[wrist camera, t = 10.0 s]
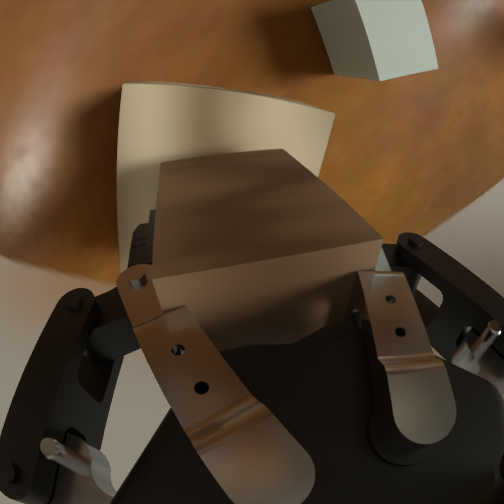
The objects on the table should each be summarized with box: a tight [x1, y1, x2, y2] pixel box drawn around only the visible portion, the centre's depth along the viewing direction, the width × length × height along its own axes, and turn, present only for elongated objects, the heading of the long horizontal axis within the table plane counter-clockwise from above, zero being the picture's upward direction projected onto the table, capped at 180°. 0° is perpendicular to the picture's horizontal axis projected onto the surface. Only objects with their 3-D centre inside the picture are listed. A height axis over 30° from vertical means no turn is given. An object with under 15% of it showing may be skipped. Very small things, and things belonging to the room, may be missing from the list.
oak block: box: [117, 81, 335, 273], centre depth 16 cm, size 10×10×5 cm
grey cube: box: [311, 0, 438, 81], centre depth 12 cm, size 5×5×5 cm
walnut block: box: [152, 149, 384, 351], centre depth 10 cm, size 5×5×7 cm
